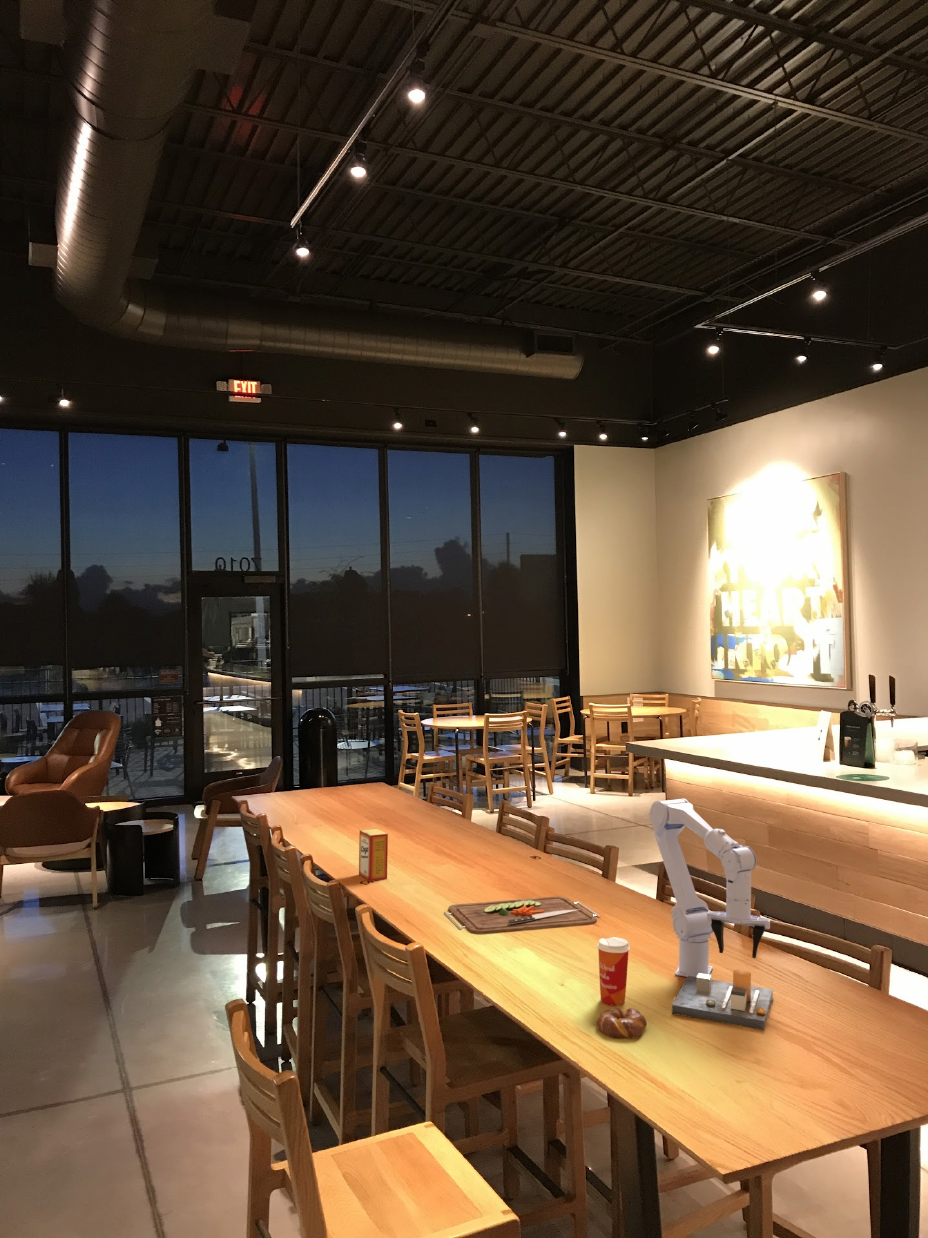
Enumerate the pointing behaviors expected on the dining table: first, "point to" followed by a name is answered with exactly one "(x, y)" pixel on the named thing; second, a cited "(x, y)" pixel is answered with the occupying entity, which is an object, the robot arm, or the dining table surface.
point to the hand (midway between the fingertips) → (737, 954)
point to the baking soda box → (373, 854)
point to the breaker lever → (738, 998)
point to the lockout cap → (743, 981)
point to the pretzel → (621, 1023)
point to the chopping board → (520, 915)
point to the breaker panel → (721, 1002)
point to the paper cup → (613, 970)
